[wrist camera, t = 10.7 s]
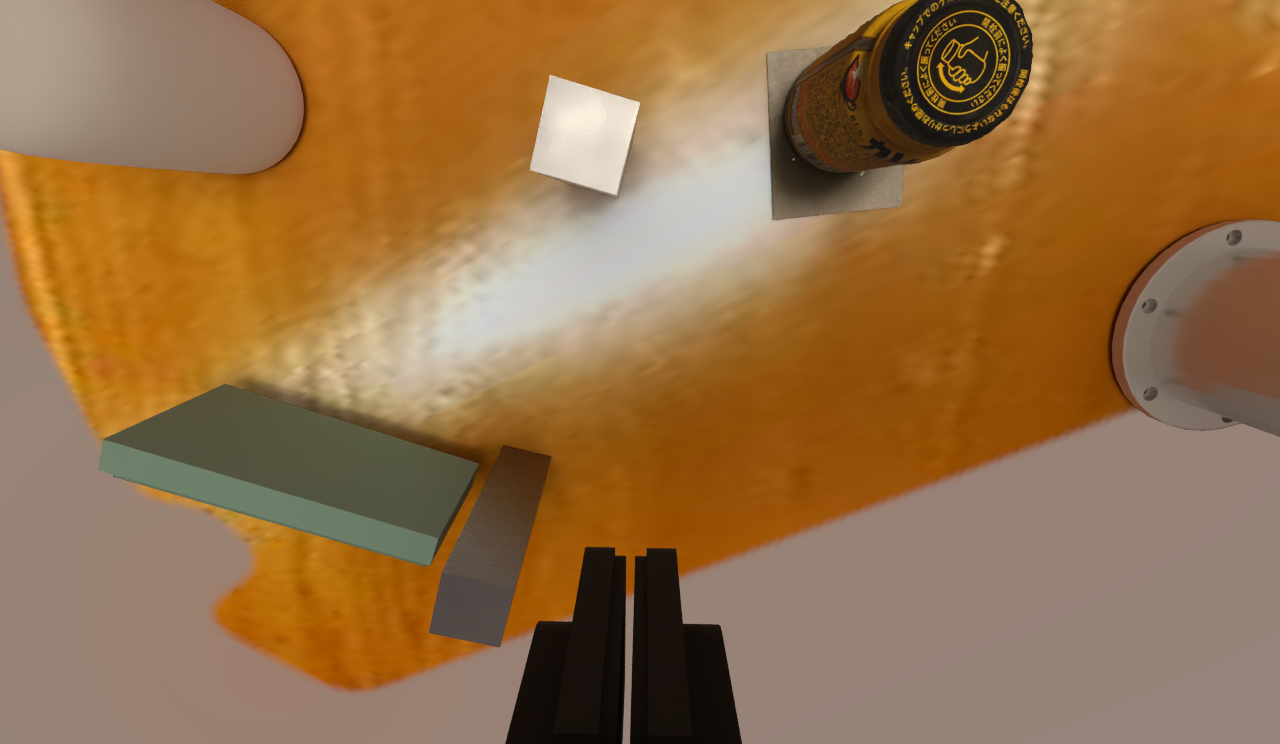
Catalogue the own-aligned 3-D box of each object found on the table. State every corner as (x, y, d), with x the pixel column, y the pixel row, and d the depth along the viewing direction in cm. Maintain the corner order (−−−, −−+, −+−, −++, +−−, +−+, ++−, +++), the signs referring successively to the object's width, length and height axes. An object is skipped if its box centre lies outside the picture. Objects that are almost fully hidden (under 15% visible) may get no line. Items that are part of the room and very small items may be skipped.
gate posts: (632, 142, 32) (640, 102, 19) (540, 499, 37) (499, 647, 25) (578, 126, 31) (550, 75, 19) (493, 488, 37) (428, 632, 25)
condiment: (904, 39, 31) (1073, -60, 19) (900, 206, 33) (1050, 207, 22) (765, 53, 31) (852, -37, 19) (772, 220, 33) (852, 228, 22)
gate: (479, 463, 34) (438, 538, 27) (469, 492, 35) (427, 574, 27) (225, 383, 33) (102, 439, 25) (218, 415, 33) (97, 480, 25)
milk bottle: (278, -2, 29) (-370, -391, 10) (330, 159, 31) (-125, 90, 12) (129, 30, 30) (-785, -295, 10) (191, 188, 32) (-473, 163, 12)
